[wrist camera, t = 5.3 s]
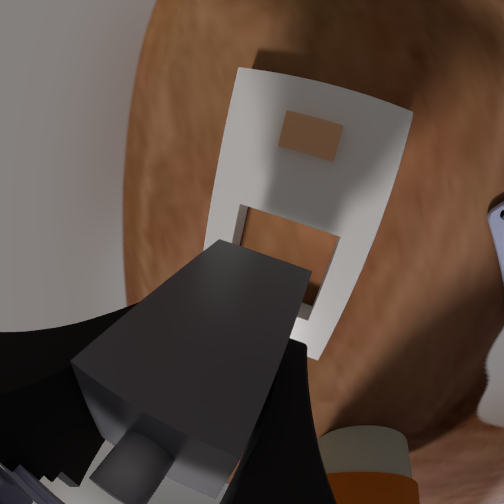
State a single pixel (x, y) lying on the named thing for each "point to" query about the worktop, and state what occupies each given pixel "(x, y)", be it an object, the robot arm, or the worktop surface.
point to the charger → (190, 371)
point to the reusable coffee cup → (368, 465)
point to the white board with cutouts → (309, 175)
